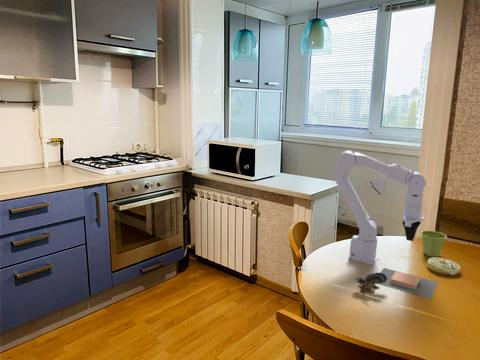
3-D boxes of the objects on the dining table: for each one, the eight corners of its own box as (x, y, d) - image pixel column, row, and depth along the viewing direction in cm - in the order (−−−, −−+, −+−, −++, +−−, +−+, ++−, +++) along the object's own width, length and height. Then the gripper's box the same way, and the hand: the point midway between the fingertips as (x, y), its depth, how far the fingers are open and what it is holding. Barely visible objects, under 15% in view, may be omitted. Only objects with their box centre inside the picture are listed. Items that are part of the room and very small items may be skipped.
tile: (395, 275, 129) (390, 283, 123) (395, 271, 128) (390, 278, 123) (419, 282, 124) (415, 290, 119) (420, 277, 124) (416, 285, 118)
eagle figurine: (375, 298, 112) (392, 285, 117) (364, 276, 113) (381, 264, 118) (358, 300, 119) (375, 287, 123) (348, 279, 120) (364, 268, 125)
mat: (372, 283, 124) (372, 282, 124) (383, 268, 135) (383, 267, 135) (431, 300, 113) (431, 299, 113) (437, 283, 124) (438, 282, 124)
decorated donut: (458, 280, 127) (459, 270, 126) (424, 272, 133) (425, 263, 132) (460, 269, 135) (461, 260, 134) (428, 262, 141) (429, 253, 140)
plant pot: (420, 247, 155) (423, 228, 153) (445, 253, 150) (448, 233, 148) (416, 255, 147) (418, 235, 146) (442, 261, 142) (445, 240, 140)
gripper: (421, 211, 124) (417, 248, 127) (428, 202, 136) (425, 236, 139) (399, 208, 129) (396, 244, 131) (408, 199, 140) (405, 232, 143)
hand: (409, 240), depth 135 cm, fingers closed
